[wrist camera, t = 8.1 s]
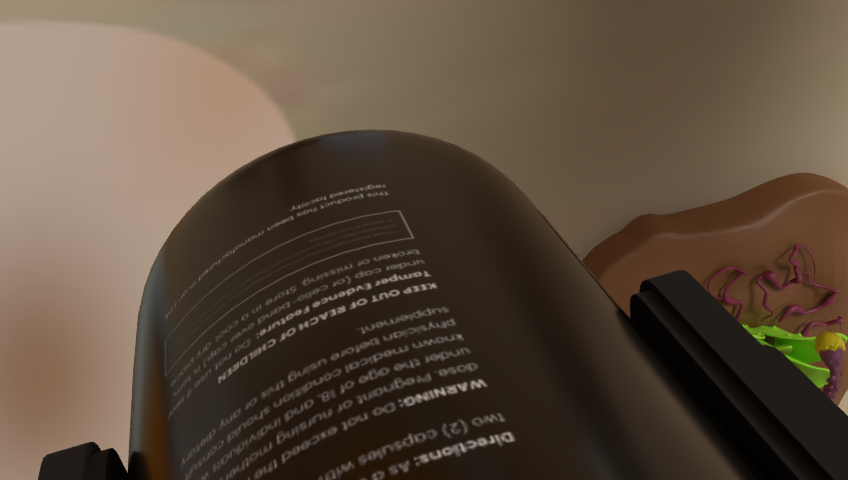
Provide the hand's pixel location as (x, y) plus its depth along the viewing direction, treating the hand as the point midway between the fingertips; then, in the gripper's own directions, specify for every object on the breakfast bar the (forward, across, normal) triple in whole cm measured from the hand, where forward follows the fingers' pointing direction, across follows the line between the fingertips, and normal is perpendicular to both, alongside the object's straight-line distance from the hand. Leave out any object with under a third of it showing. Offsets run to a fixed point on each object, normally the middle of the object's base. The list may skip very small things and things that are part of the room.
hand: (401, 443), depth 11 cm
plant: (+24, -19, +24) cm, 39 cm away
